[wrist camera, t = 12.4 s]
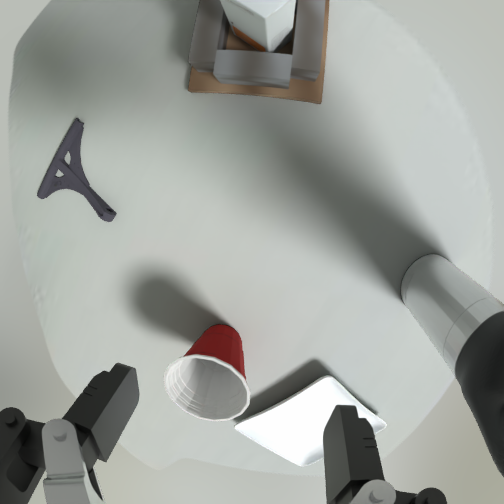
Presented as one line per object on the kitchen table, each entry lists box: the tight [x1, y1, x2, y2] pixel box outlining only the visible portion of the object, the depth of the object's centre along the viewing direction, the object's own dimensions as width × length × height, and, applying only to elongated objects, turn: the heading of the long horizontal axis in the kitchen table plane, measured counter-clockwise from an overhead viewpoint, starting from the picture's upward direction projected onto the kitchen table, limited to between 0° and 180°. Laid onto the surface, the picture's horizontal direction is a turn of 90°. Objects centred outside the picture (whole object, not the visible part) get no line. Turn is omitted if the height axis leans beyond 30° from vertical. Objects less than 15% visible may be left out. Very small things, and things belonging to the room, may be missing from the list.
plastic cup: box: [163, 324, 250, 421], centre depth 37 cm, size 11×11×12 cm
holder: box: [188, 0, 329, 104], centre depth 27 cm, size 16×16×6 cm
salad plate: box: [234, 375, 387, 466], centre depth 46 cm, size 21×21×3 cm
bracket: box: [37, 118, 117, 222], centre depth 37 cm, size 14×15×3 cm
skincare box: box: [220, 0, 296, 53], centre depth 23 cm, size 6×4×12 cm
